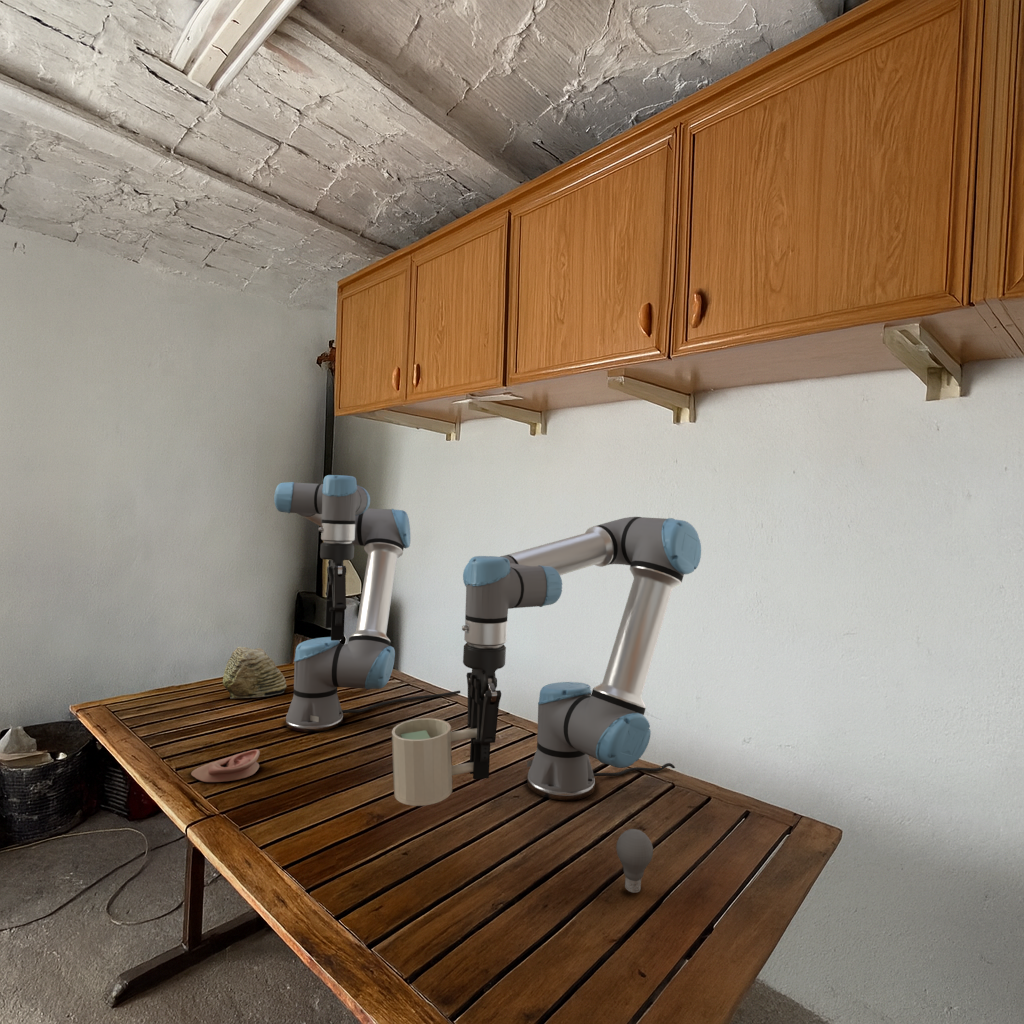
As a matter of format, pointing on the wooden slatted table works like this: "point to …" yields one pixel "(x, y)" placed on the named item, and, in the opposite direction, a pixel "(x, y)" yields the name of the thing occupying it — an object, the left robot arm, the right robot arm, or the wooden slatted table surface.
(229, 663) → the fossil
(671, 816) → the wooden slatted table surface
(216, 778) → the anatomical model
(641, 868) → the light bulb
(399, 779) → the mug
